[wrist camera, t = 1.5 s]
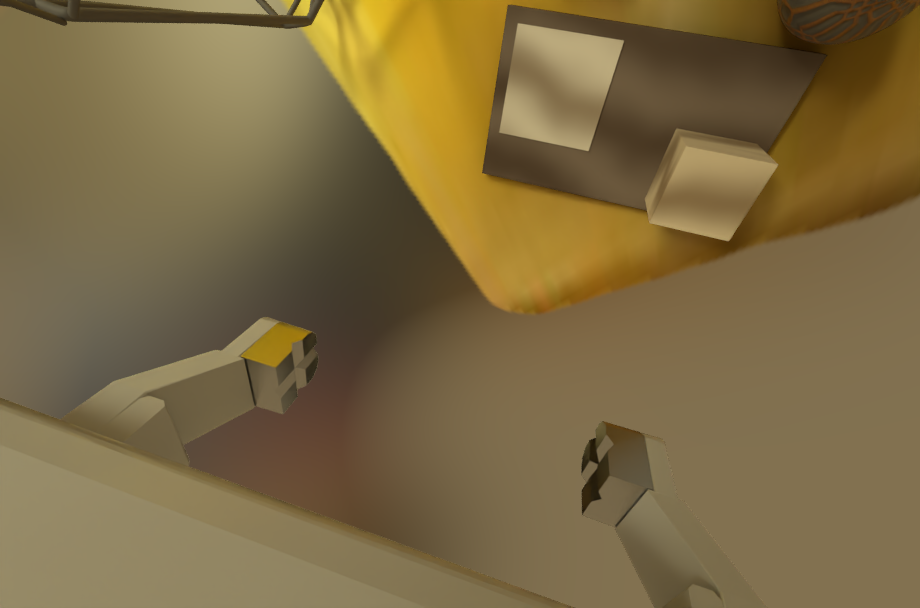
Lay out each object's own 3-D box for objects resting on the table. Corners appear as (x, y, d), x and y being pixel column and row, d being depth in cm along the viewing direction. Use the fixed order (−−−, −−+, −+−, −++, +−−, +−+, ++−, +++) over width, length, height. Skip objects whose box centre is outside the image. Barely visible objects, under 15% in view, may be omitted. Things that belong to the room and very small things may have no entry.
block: (676, 128, 31) (685, 146, 27) (756, 143, 30) (778, 164, 26) (644, 198, 35) (649, 223, 31) (715, 214, 34) (728, 241, 30)
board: (510, 4, 30) (507, 4, 29) (821, 53, 27) (828, 55, 26) (484, 169, 38) (481, 173, 37) (718, 222, 35) (721, 228, 34)
